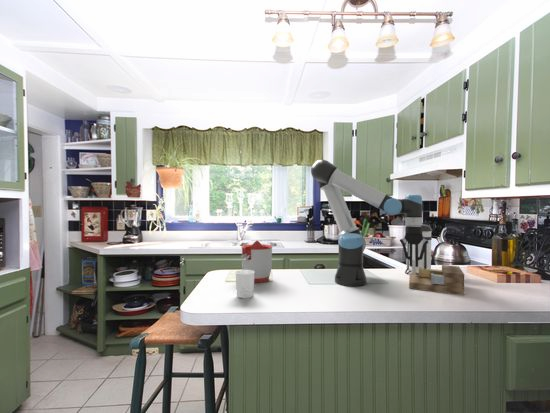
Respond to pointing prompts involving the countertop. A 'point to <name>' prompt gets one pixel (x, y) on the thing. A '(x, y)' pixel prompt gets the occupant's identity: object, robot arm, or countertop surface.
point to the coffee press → (427, 253)
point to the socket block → (452, 284)
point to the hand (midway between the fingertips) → (413, 273)
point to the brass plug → (429, 272)
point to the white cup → (245, 283)
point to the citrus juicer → (257, 260)
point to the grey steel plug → (437, 279)
